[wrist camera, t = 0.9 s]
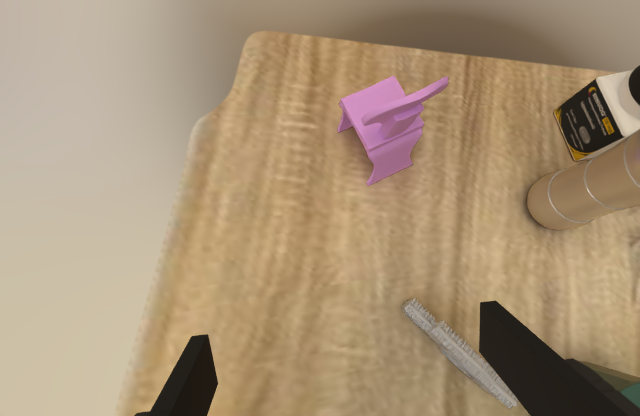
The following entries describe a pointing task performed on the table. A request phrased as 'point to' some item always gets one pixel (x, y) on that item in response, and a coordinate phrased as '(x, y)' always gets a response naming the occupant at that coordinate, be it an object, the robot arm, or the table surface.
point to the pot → (612, 375)
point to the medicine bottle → (601, 114)
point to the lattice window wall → (460, 353)
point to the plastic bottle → (589, 188)
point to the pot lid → (631, 392)
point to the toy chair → (387, 123)
